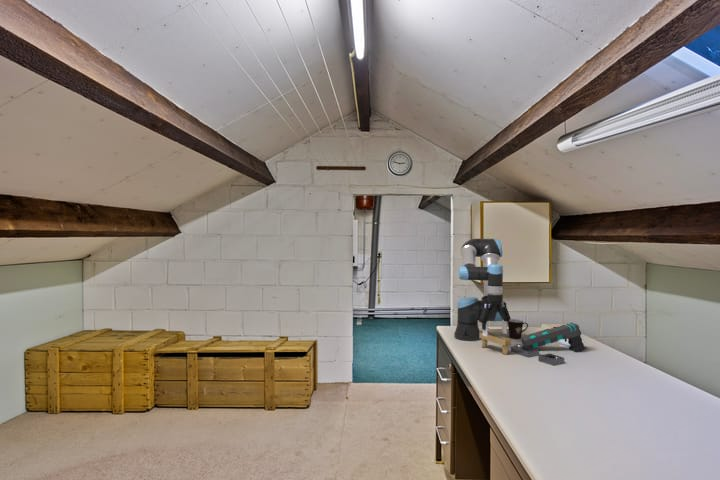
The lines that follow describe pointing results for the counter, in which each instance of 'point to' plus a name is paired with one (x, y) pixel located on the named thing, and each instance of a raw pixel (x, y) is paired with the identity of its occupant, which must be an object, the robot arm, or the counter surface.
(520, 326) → the coffee mug
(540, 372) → the counter surface
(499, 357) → the counter surface
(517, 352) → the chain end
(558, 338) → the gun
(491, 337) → the gold bar
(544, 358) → the chain end
